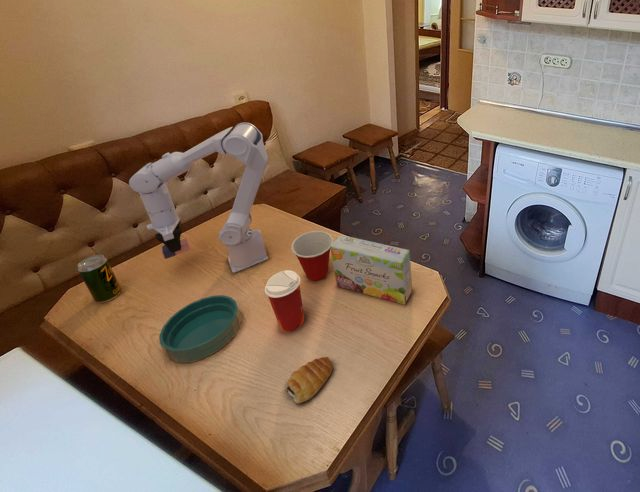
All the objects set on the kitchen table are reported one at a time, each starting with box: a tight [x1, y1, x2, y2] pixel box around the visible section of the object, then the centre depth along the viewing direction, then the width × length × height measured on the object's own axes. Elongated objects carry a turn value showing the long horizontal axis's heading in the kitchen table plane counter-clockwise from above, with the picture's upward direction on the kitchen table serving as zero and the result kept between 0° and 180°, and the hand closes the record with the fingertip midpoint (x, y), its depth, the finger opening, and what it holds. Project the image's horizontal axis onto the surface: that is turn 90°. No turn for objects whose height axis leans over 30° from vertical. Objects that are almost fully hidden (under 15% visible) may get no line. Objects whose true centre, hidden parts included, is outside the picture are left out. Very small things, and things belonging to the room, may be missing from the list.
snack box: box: [330, 234, 413, 305], centre depth 97 cm, size 21×6×15 cm, turn 74°
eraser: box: [160, 237, 192, 260], centre depth 102 cm, size 6×3×3 cm, turn 130°
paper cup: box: [264, 269, 305, 333], centre depth 87 cm, size 8×8×14 cm
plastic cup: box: [290, 230, 334, 283], centre depth 102 cm, size 11×11×12 cm
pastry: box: [284, 356, 334, 404], centre depth 76 cm, size 9×7×4 cm
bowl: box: [158, 294, 242, 364], centre depth 85 cm, size 15×15×4 cm
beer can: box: [77, 254, 122, 304], centre depth 94 cm, size 5×5×12 cm
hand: (175, 247), depth 102 cm, fingers closed on eraser, 3 cm apart
